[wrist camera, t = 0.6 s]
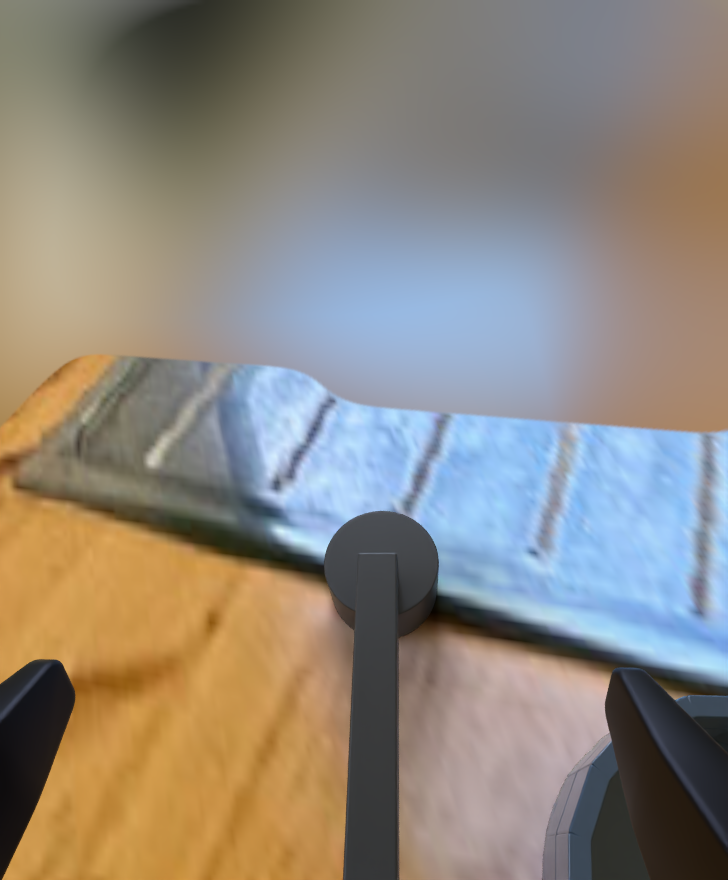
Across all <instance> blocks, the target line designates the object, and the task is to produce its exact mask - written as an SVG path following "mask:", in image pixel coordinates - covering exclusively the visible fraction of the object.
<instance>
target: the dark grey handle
mask: <svg viewBox="0 0 728 880" xmlns="http://www.w3.org/2000/svg"><path fill="white" fill-rule="evenodd" d="M438 568H439V560H438V553H437V549H436V546H435V544H434V541H433V540H432V538H431V536H430V535H429V533H428V532H427V531H426V530H425V529H424V528H423V527H422V526H421V525H420V524H419V523H417V522H416V521H415V520H413V519H411V518H409V517H407V516H405V515H403V514H399V513H396V512H390V511H375V512H369V513H365V514H362V515H360V516H357V517H355V518H353V519H351V520H350V521H348V522H347V523H346V524H344V525H343V526H342V527H341V528H340V529H339V530H338V531H337V532H336V534H335V535H334V536H333V538H332V539H331V541H330V543H329V545H328V547H327V551H326V554H325V560H324V570H325V577H326V580H327V584H328V587H329V590H330V593H331V596H332V599H333V602H334V605H335V607H336V610H337V612H338V614H339V615H340V617H341V618H342V619H343V621H344V622H345V623H346V624H347V625H348V626H349V627H350V628H352V629H353V630H354V651H353V673H352V695H351V716H350V738H349V760H348V782H347V804H346V826H345V848H344V870H343V880H399V643H398V637H401V636H404V635H406V634H408V633H410V632H412V631H414V630H415V629H417V628H418V627H419V626H420V625H421V624H422V623H423V622H424V621H425V620H426V619H427V617H428V616H429V614H430V613H431V611H432V609H433V607H434V604H435V600H436V595H437V583H438Z"/></svg>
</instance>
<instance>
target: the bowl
mask: <svg viewBox="0 0 728 880" xmlns="http://www.w3.org/2000/svg"><path fill="white" fill-rule="evenodd" d="M675 701H676V702H677V703H678V704H679V705H680V706H681V707H682V708H683V709H684V710H685V711H686V712H687V713H688V714H689V715H690V716H691V717H692V718H693V719H694V720H695V721H696V722H697V723H698V724H699V725H700V726H701V727H702V728H703V729H704V730H705V731H706V732H707V733H708V734H709V735H710V736H711V737H712V738H713V739H714V740H715V741H716V742H717V743H718V744H719V745H720V746H721V747H722V748H723V749H724V750H725V751H726V752H727V753H728V696H695V695H688V696H687V697H686V696H684V697H682V698H679V699H677V700H675ZM542 880H650V878H649V875H648V872H647V869H646V866H645V863H644V860H643V857H642V854H641V851H640V848H639V845H638V842H637V839H636V836H635V833H634V830H633V827H632V823H631V819H630V815H629V811H628V808H627V803H626V799H625V795H624V791H623V787H622V782H621V778H620V774H619V770H618V765H617V761H616V757H615V753H614V748H613V744H612V740H611V736H610V733H608V734H607V735H605V736H604V737H603V738H601V739H600V740H599V741H598V743H597V744H596V745H595V746H594V747H593V748H592V749H591V750H590V751H589V752H588V753H586V754H585V755H584V757H583V758H582V759H581V760H580V761H579V762H578V764H577V765H576V766H575V767H574V768H573V769H572V771H571V772H570V773H569V774H568V775H567V778H566V779H565V782H564V784H563V786H562V787H561V790H560V792H559V794H558V797H557V799H556V801H555V804H554V806H553V809H552V812H551V816H550V820H549V823H548V827H547V831H546V838H545V845H544V851H543V871H542Z"/></svg>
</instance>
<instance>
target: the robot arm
mask: <svg viewBox="0 0 728 880" xmlns="http://www.w3.org/2000/svg"><path fill="white" fill-rule="evenodd" d="M74 703H75V690H74V688H73V686H72V683H71V681H70V679H69V677H68V675H67V673H66V671H65V669H64V666H63V665H62V663H61V662H60V661H58V660H44V659H39V660H34V661H32V662H30V663H28V664H27V665H25V666H24V667H23V668H21V669H20V670H19V671H17V672H16V673H15V674H13V675H12V676H11V677H9V678H8V679H6V680H5V681H4V682H2V683H1V684H0V880H2V878H3V876H4V874H5V872H6V870H7V868H8V866H9V864H10V861H11V859H12V857H13V855H14V853H15V851H16V849H17V847H18V844H19V842H20V840H21V838H22V836H23V834H24V832H25V830H26V828H27V825H28V823H29V821H30V819H31V817H32V815H33V812H34V810H35V808H36V806H37V803H38V801H39V799H40V796H41V794H42V791H43V789H44V786H45V783H46V781H47V778H48V775H49V772H50V770H51V767H52V764H53V762H54V759H55V756H56V753H57V751H58V748H59V745H60V743H61V740H62V737H63V734H64V732H65V729H66V726H67V724H68V721H69V718H70V715H71V713H72V710H73V707H74ZM605 713H606V719H607V723H608V727H609V731H610V736H611V740H612V744H613V748H614V753H615V757H616V761H617V765H618V770H619V774H620V778H621V782H622V787H623V791H624V795H625V799H626V803H627V808H628V811H629V815H630V819H631V823H632V827H633V830H634V833H635V836H636V839H637V842H638V845H639V848H640V851H641V854H642V857H643V860H644V863H645V866H646V869H647V872H648V875H649V878H650V880H728V753H727V752H726V751H725V750H724V749H723V748H722V747H721V746H720V745H719V744H718V743H717V742H716V741H715V740H714V739H713V738H712V737H711V736H710V735H709V734H708V733H707V732H706V731H705V730H704V729H703V728H702V727H701V726H700V725H699V724H698V723H697V722H696V721H695V720H694V719H693V718H692V717H691V716H690V715H689V714H688V713H687V712H686V711H685V710H684V709H683V708H682V707H681V706H680V705H679V704H678V703H677V702H676V701H675V700H674V699H673V698H672V697H671V696H670V695H669V694H668V693H667V692H666V691H665V690H664V689H663V688H662V687H661V686H660V685H659V684H658V683H657V682H656V681H655V680H654V679H653V678H652V677H651V676H650V675H649V674H648V673H647V672H645V671H644V670H642V669H639V668H616V669H614V670H613V672H612V675H611V679H610V683H609V688H608V692H607V696H606V701H605Z"/></svg>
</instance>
